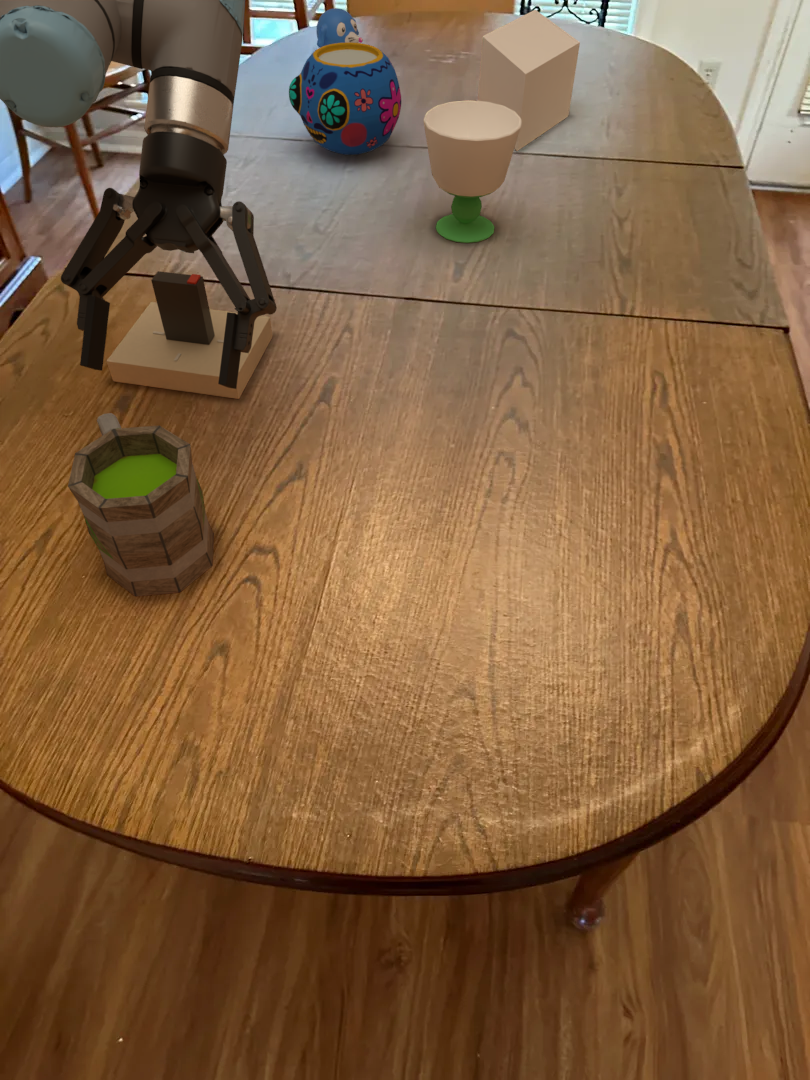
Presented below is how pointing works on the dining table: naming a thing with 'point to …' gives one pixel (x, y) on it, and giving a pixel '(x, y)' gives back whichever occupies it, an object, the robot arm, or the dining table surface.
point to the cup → (469, 160)
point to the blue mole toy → (337, 28)
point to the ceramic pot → (347, 97)
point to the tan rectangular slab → (183, 356)
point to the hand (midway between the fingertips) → (158, 377)
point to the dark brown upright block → (183, 307)
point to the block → (529, 72)
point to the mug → (143, 507)
